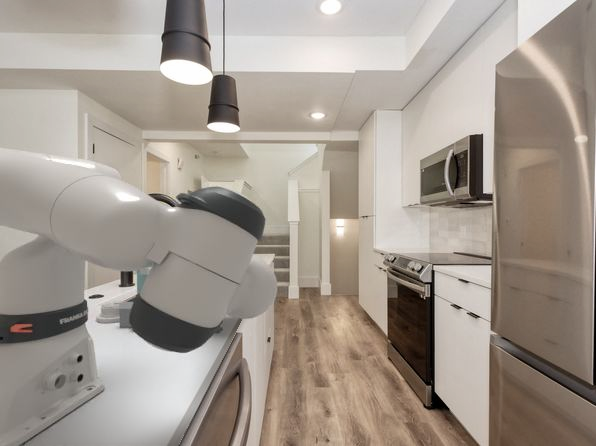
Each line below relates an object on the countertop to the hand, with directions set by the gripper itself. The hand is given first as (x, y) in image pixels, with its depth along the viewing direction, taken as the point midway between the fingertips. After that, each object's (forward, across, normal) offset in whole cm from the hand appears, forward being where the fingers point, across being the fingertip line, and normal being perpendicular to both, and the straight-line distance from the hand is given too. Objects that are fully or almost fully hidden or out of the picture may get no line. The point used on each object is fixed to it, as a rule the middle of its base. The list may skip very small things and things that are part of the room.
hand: (146, 268), depth 90 cm
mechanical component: (+11, +3, -15) cm, 19 cm away
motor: (-1, -2, -15) cm, 15 cm away
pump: (-1, 0, -7) cm, 7 cm away
